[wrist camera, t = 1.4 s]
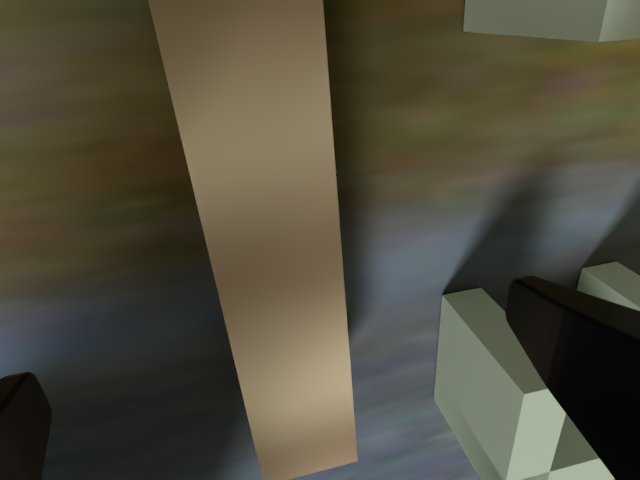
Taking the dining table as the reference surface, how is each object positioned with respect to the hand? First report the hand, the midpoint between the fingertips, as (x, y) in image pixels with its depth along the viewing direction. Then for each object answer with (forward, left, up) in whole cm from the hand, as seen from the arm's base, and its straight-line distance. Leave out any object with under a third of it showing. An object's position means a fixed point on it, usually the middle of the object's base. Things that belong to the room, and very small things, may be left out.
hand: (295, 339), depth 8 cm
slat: (0, 0, -6) cm, 6 cm away
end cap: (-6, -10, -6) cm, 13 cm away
